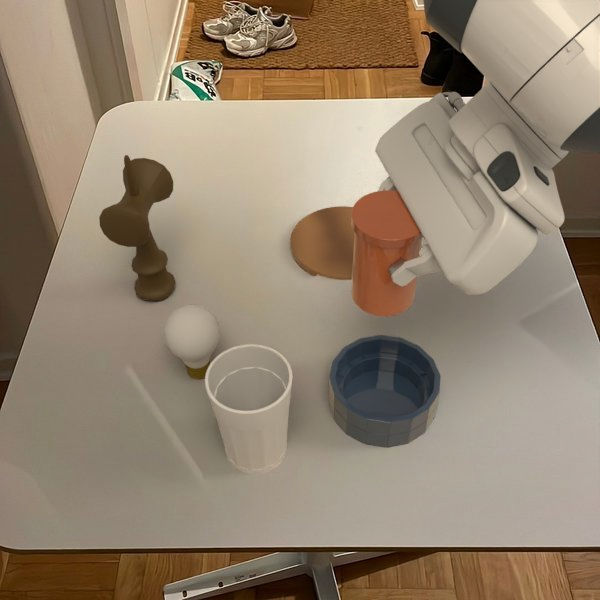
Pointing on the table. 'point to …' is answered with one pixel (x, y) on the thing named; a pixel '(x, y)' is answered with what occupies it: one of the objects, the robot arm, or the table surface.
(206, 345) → the light bulb
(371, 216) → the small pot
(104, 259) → the table surface
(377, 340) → the bowl
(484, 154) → the robot arm
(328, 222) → the disc
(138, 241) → the kendama
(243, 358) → the cup
